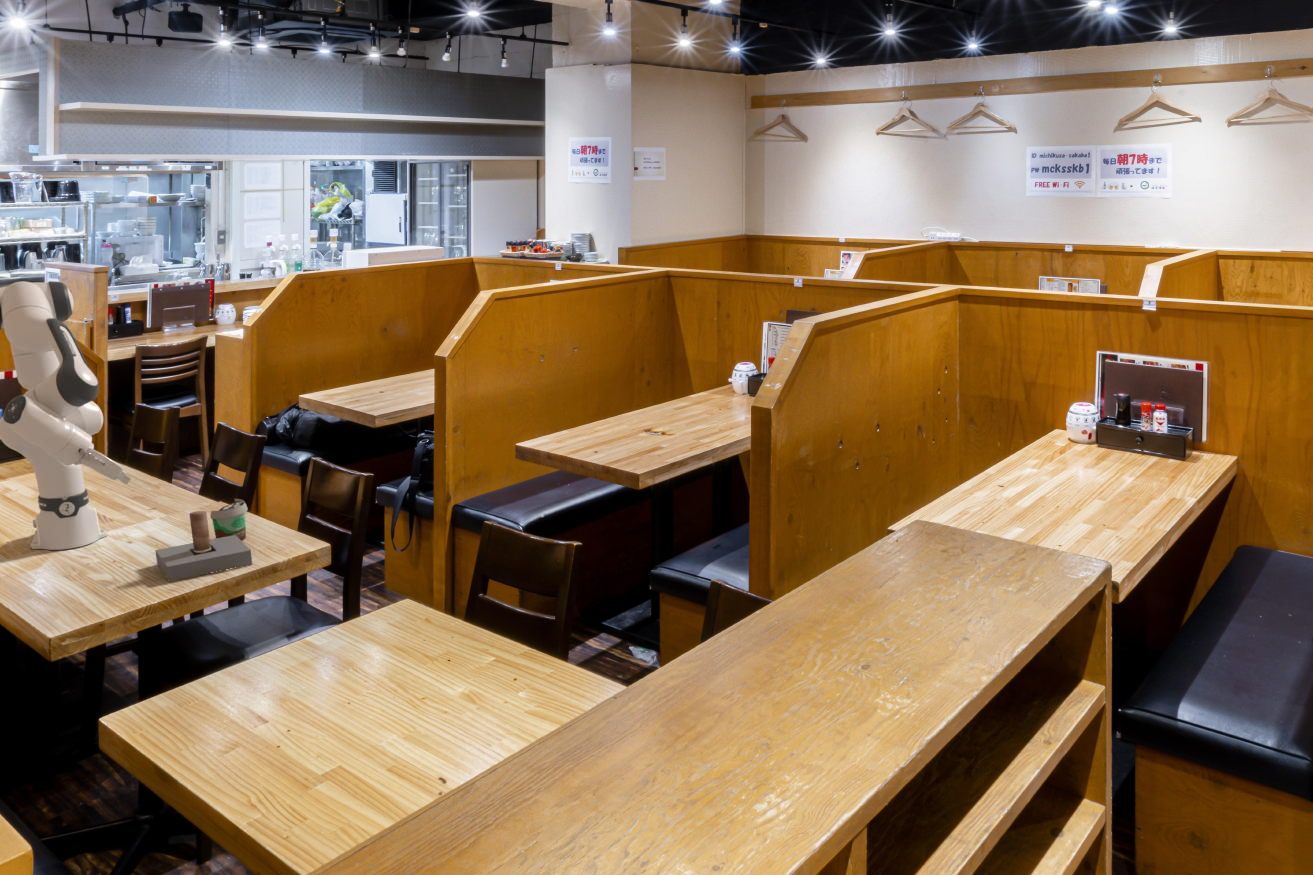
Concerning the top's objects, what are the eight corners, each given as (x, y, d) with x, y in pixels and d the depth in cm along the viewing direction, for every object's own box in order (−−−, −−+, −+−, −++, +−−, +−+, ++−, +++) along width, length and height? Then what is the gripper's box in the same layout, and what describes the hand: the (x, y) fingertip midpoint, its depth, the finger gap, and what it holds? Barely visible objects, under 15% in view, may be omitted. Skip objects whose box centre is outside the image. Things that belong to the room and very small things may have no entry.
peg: (193, 564, 274) (187, 512, 271) (210, 560, 276) (204, 509, 273) (197, 568, 271) (191, 516, 267) (214, 565, 273) (208, 513, 270)
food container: (234, 547, 286) (230, 512, 284) (213, 546, 287) (209, 511, 285) (259, 532, 298) (255, 499, 295) (239, 531, 299) (236, 498, 297)
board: (157, 564, 274) (155, 550, 273) (237, 548, 285) (235, 534, 284) (169, 581, 262) (167, 566, 261) (252, 564, 273) (250, 550, 272)
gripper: (98, 443, 244) (146, 475, 253) (64, 428, 257) (111, 458, 266) (80, 466, 241) (129, 497, 251) (47, 449, 255) (94, 479, 264)
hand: (119, 477), depth 259 cm, fingers open, 8 cm apart
